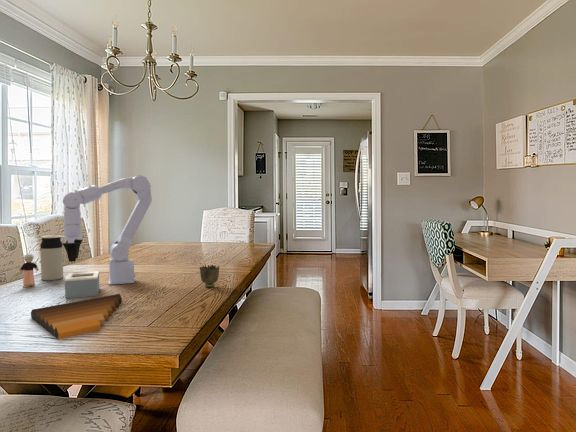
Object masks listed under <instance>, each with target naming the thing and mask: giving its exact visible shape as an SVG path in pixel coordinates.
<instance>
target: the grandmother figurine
mask: <svg viewBox="0 0 576 432" xmlns="http://www.w3.org/2000/svg"><path fill="white" fill-rule="evenodd" d="M34 258H35V256H34V255H33V254H32V253H26V254H25V255H24V256H23V260H24V261H25V263H23V264H22V265H21V267H20V268H19V271H18V275H22V273H23V278H22V284H23V285H22V288H29V287H36V284H35V283H36V282H35V275H34V269H35V271H36V272H38V271H40V270H39V267H38V265H37V264H36V262H33V260H34ZM23 271H24V272H23Z"/></svg>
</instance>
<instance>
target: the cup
mask: <svg viewBox="0 0 576 432" xmlns="http://www.w3.org/2000/svg"><path fill="white" fill-rule="evenodd" d="M216 266H217V265H213V264H210V265H202V266H200V267H199V274H200V280H201V282H202V283H204V287H205V288H206V287H207V288H206V289H212V288H211V287H213V288H214V287H215V283H216V282H218V279H219V274H220V266H219V265H218V266H217V267H216Z"/></svg>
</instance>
